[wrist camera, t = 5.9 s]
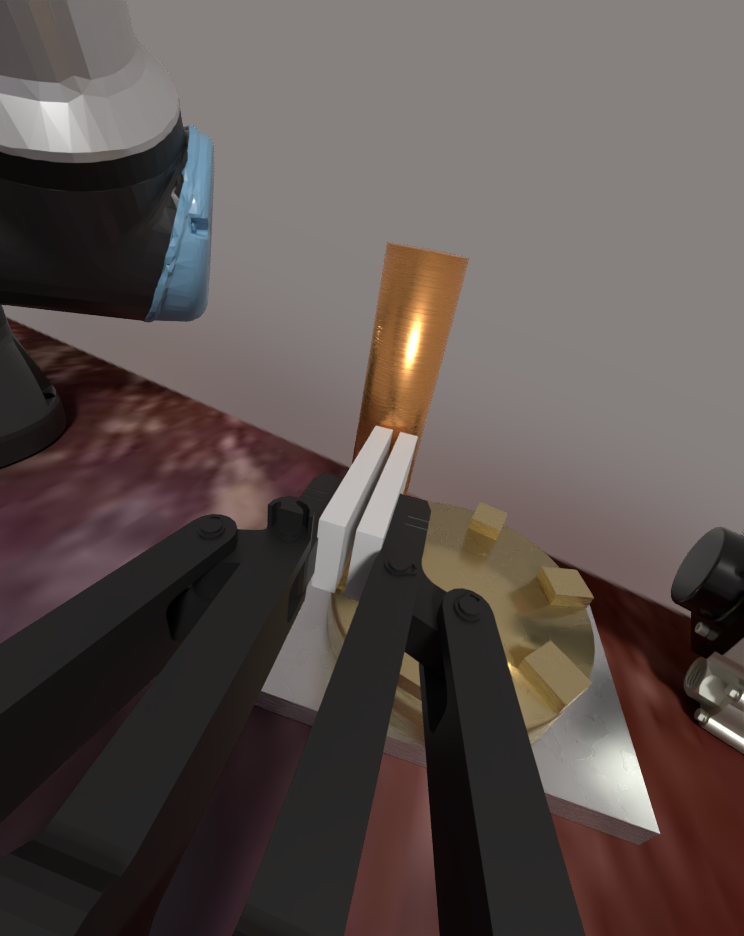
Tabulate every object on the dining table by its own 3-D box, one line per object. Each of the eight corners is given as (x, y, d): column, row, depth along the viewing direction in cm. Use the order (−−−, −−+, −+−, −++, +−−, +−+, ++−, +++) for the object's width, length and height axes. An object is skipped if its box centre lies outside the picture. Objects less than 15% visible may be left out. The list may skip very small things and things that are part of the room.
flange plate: (233, 697, 17) (232, 680, 17) (327, 523, 28) (330, 508, 27) (639, 845, 15) (659, 833, 14) (572, 595, 26) (582, 581, 25)
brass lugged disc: (266, 642, 18) (272, 228, 9) (386, 508, 28) (446, 249, 19) (553, 838, 14) (1142, 419, 5) (573, 596, 24) (768, 315, 15)
